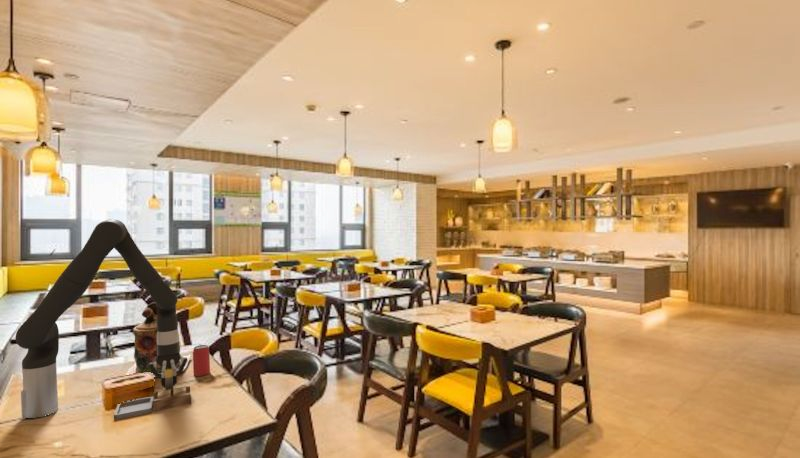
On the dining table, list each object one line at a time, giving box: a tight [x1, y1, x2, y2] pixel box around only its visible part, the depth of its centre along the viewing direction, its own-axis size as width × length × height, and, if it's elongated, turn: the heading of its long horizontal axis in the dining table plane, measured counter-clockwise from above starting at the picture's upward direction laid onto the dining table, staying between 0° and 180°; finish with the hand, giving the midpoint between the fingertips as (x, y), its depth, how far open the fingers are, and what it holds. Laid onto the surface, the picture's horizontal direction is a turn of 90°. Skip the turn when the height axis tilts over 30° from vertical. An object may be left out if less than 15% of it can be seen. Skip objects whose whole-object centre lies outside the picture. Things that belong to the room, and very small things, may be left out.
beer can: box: [192, 344, 211, 377], centre depth 186 cm, size 7×7×12 cm
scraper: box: [164, 368, 174, 390], centre depth 165 cm, size 3×4×10 cm, turn 27°
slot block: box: [152, 385, 192, 412], centre depth 157 cm, size 12×9×4 cm
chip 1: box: [158, 390, 171, 399], centre depth 155 cm, size 4×4×2 cm
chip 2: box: [173, 386, 186, 396], centre depth 158 cm, size 4×4×2 cm
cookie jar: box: [124, 301, 193, 378], centre depth 193 cm, size 25×25×32 cm
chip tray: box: [113, 395, 154, 421], centre depth 151 cm, size 11×12×2 cm
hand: (169, 385), depth 165 cm, fingers closed on scraper, 2 cm apart
